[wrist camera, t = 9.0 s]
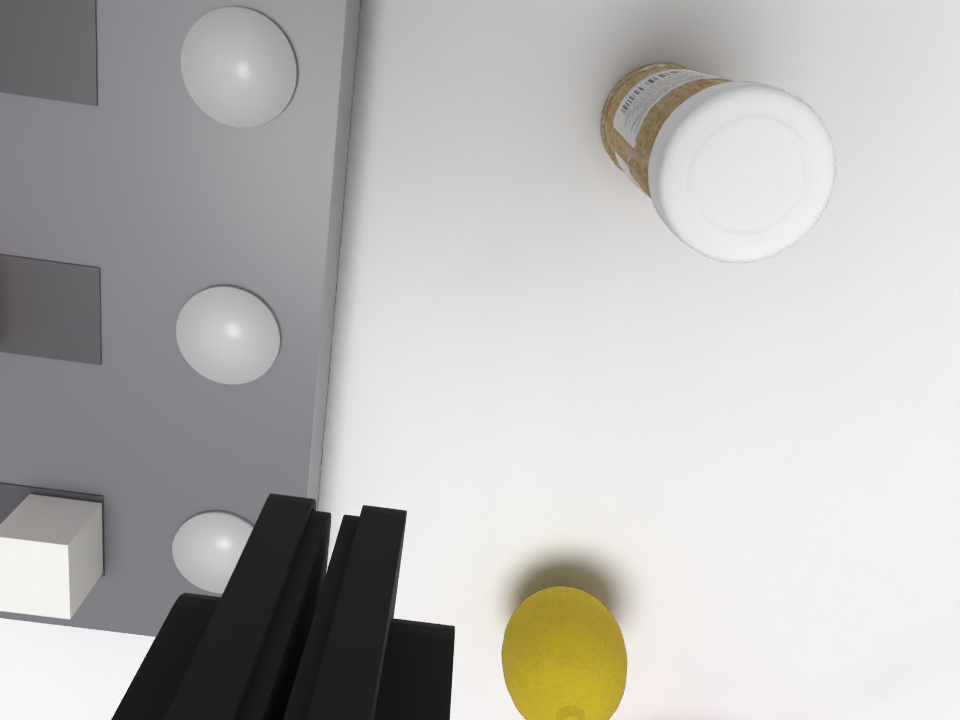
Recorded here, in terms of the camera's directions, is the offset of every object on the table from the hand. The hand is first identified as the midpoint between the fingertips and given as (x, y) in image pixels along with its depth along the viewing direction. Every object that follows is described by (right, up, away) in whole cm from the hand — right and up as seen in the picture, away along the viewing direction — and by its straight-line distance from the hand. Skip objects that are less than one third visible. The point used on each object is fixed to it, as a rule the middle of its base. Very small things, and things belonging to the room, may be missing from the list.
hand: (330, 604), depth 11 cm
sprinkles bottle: (+9, +12, +24) cm, 29 cm away
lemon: (+6, -9, +33) cm, 34 cm away
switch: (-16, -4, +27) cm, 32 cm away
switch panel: (-12, +6, +27) cm, 30 cm away
